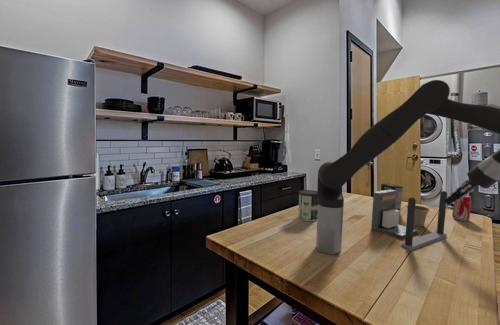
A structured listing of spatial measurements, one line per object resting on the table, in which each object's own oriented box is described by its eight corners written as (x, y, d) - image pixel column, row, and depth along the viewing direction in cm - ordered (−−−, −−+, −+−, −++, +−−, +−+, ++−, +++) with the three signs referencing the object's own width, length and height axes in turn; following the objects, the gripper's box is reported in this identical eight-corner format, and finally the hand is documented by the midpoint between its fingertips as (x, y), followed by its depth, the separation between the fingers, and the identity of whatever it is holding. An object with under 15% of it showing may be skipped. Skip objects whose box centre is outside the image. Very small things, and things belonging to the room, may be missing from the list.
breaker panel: (417, 233, 114) (421, 195, 113) (401, 239, 108) (404, 198, 106) (387, 224, 126) (390, 189, 125) (371, 228, 120) (373, 192, 118)
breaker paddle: (398, 225, 119) (399, 210, 119) (388, 228, 115) (389, 213, 115) (392, 223, 122) (393, 209, 121) (381, 226, 118) (382, 211, 117)
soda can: (462, 217, 139) (465, 194, 138) (473, 221, 132) (475, 197, 130) (448, 216, 140) (451, 193, 138) (458, 221, 132) (460, 196, 131)
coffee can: (315, 215, 139) (316, 189, 138) (320, 221, 129) (321, 194, 128) (296, 215, 139) (297, 189, 138) (299, 221, 129) (300, 193, 128)
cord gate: (446, 236, 111) (450, 191, 109) (411, 250, 97) (416, 198, 95) (436, 233, 115) (440, 189, 112) (401, 246, 101) (405, 196, 99)
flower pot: (432, 228, 122) (434, 210, 121) (413, 228, 121) (415, 210, 120) (418, 221, 131) (420, 205, 130) (401, 221, 131) (402, 205, 130)
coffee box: (378, 211, 149) (380, 183, 147) (386, 209, 151) (388, 183, 150) (392, 215, 141) (395, 186, 139) (401, 214, 143) (403, 186, 141)
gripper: (482, 161, 94) (443, 191, 104) (473, 166, 85) (432, 198, 96) (503, 176, 90) (460, 206, 100) (496, 183, 82) (450, 214, 92)
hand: (446, 202), depth 98 cm, fingers closed
